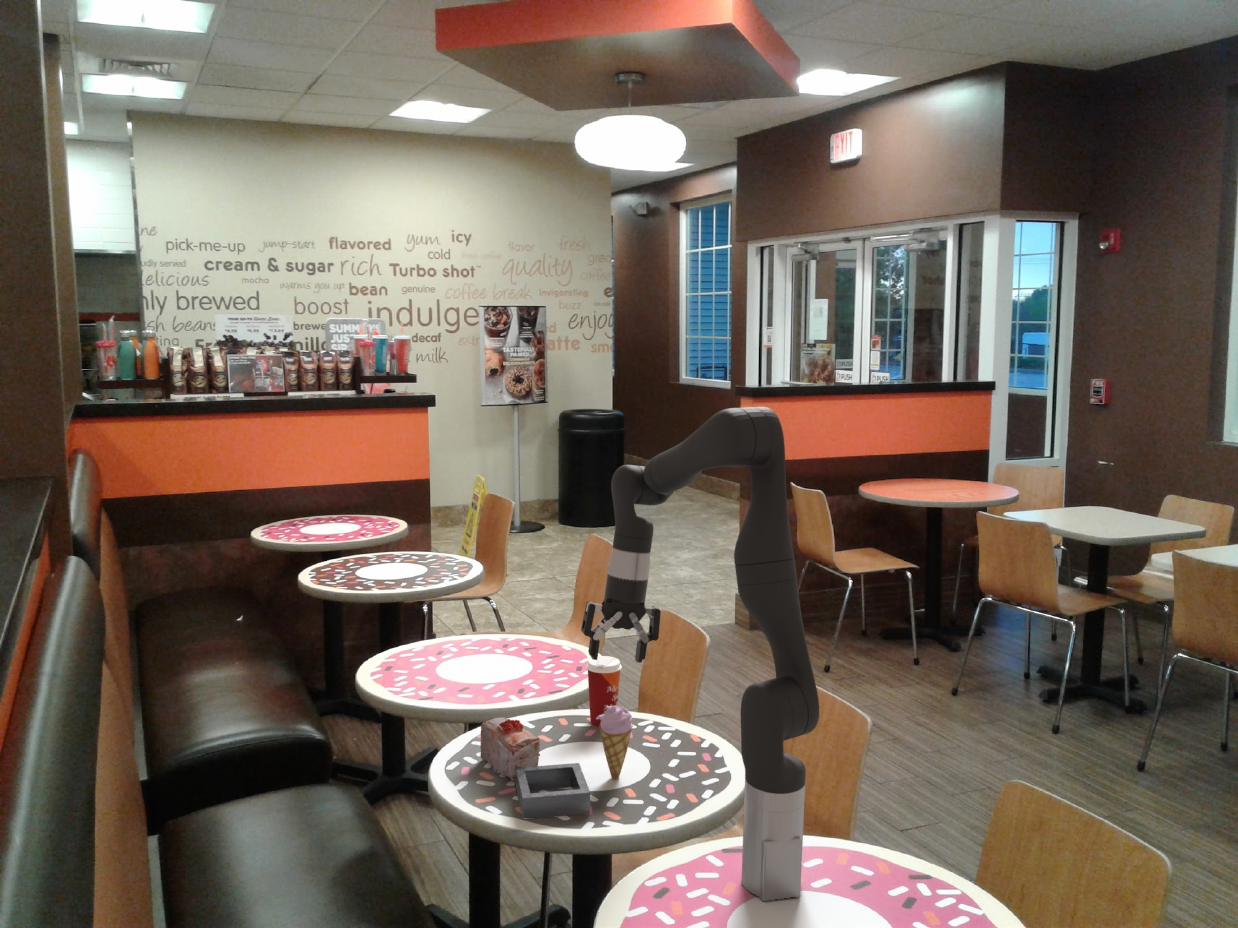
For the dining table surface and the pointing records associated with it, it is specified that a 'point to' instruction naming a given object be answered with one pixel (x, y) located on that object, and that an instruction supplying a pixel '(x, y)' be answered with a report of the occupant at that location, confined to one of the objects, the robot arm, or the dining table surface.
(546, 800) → the hollow square frame
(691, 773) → the dining table surface
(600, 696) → the paper cup
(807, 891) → the dining table surface
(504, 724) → the food item
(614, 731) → the ice cream cone
